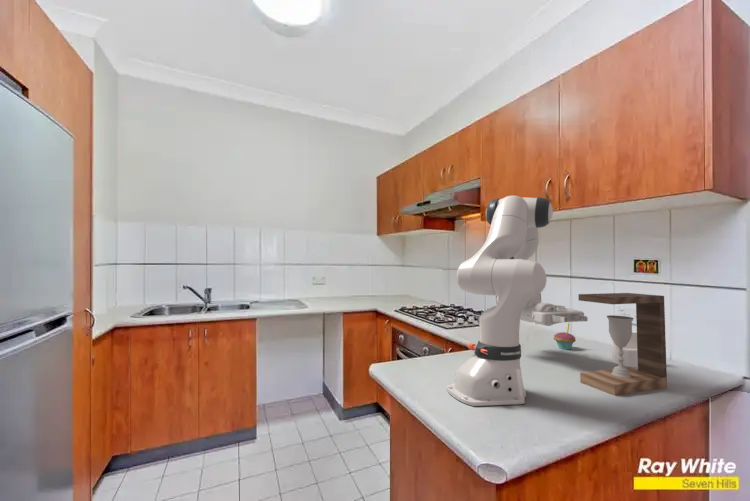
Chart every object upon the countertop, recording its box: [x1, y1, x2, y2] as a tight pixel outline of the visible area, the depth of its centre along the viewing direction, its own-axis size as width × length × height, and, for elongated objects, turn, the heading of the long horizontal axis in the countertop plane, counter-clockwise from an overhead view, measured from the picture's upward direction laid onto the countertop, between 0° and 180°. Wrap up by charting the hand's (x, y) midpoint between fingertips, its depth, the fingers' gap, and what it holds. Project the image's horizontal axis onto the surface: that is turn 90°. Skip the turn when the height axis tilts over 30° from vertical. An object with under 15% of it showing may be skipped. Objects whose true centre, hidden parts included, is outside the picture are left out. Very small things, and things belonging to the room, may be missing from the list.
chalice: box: [606, 314, 634, 378], centre depth 103 cm, size 7×7×18 cm
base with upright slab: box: [610, 330, 638, 368], centre depth 126 cm, size 9×9×12 cm
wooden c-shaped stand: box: [578, 292, 668, 396], centre depth 103 cm, size 22×11×28 cm, turn 108°
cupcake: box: [553, 322, 576, 350], centre depth 148 cm, size 9×8×12 cm
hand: (576, 319), depth 118 cm, fingers open, 8 cm apart
